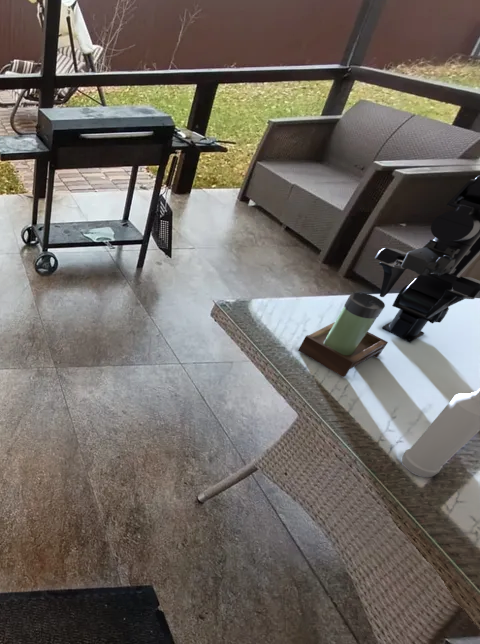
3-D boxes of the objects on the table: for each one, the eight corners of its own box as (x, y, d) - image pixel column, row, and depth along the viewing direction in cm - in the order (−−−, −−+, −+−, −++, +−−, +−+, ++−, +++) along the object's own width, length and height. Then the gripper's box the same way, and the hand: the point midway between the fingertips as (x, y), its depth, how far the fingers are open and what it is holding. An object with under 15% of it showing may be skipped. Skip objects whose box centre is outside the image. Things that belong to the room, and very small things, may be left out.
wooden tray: (332, 332, 116) (341, 318, 114) (378, 356, 109) (388, 342, 106) (297, 350, 111) (305, 336, 108) (343, 377, 104) (352, 362, 101)
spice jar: (342, 337, 110) (370, 291, 102) (361, 355, 105) (392, 308, 97) (316, 338, 110) (343, 293, 102) (334, 356, 105) (363, 309, 97)
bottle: (392, 455, 87) (479, 356, 72) (418, 453, 88) (510, 353, 73) (415, 479, 83) (513, 379, 68) (443, 477, 84) (545, 377, 68)
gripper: (384, 220, 99) (340, 285, 106) (492, 257, 84) (433, 330, 92) (411, 225, 103) (367, 287, 111) (518, 260, 89) (459, 329, 96)
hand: (403, 306), depth 102 cm, fingers open, 9 cm apart
